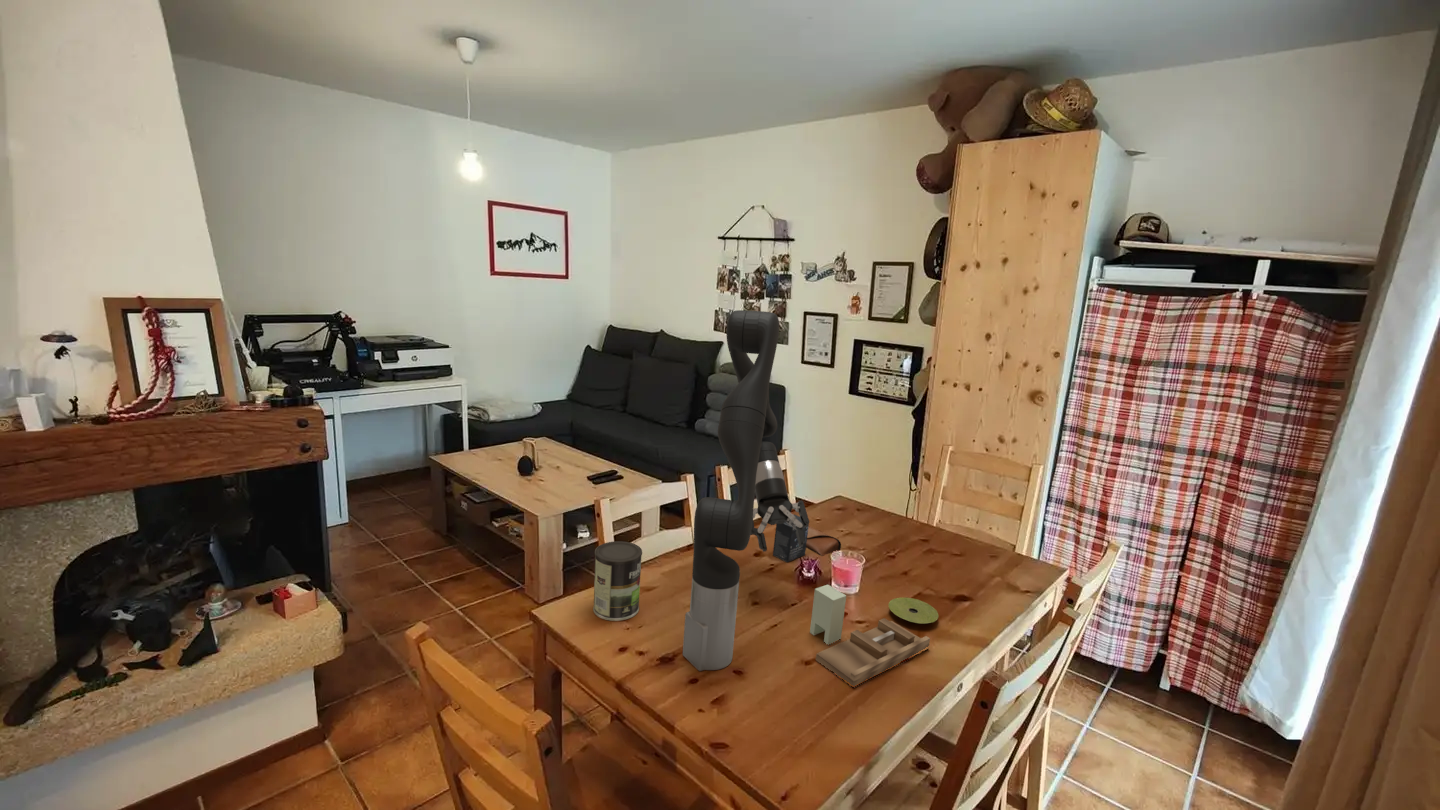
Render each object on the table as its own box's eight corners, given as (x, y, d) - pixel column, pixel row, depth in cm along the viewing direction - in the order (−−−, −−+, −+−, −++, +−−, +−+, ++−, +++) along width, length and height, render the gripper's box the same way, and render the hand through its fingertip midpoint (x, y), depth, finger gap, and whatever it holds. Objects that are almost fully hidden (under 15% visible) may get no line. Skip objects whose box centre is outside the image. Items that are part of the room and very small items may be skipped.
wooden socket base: (853, 688, 116) (855, 671, 116) (815, 660, 124) (817, 644, 123) (928, 649, 131) (930, 635, 130) (890, 626, 138) (892, 612, 138)
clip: (827, 645, 130) (833, 600, 127) (809, 632, 134) (814, 588, 131) (840, 639, 132) (846, 595, 130) (822, 627, 136) (827, 584, 134)
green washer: (877, 607, 146) (878, 600, 146) (916, 601, 150) (917, 594, 150) (907, 633, 136) (908, 626, 136) (947, 627, 140) (949, 619, 140)
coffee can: (645, 601, 141) (648, 544, 138) (630, 625, 131) (632, 564, 129) (603, 593, 143) (605, 537, 140) (585, 616, 133) (587, 557, 130)
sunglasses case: (775, 534, 184) (785, 513, 185) (788, 540, 188) (797, 520, 190) (823, 556, 171) (832, 535, 172) (834, 563, 176) (844, 541, 177)
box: (787, 563, 166) (791, 526, 163) (772, 555, 170) (775, 519, 167) (805, 555, 171) (809, 520, 169) (790, 548, 175) (794, 513, 173)
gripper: (741, 480, 143) (754, 547, 135) (800, 473, 145) (816, 538, 137) (739, 493, 150) (751, 557, 142) (795, 486, 152) (810, 549, 143)
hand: (783, 548), depth 139 cm, fingers open, 8 cm apart
